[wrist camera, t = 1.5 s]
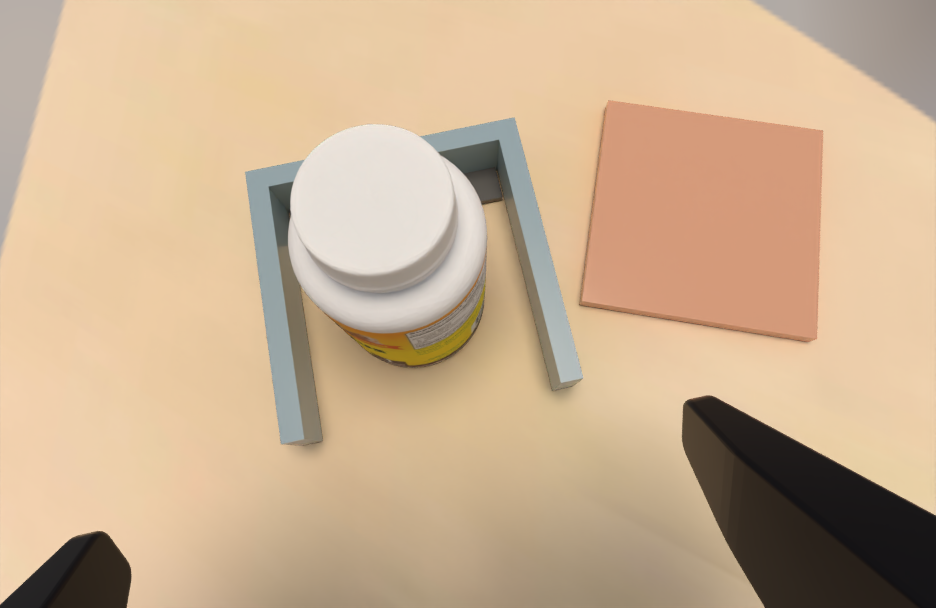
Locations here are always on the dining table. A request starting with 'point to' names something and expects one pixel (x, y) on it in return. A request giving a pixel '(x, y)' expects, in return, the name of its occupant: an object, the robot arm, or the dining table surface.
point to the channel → (478, 161)
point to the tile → (706, 221)
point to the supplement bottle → (390, 243)
